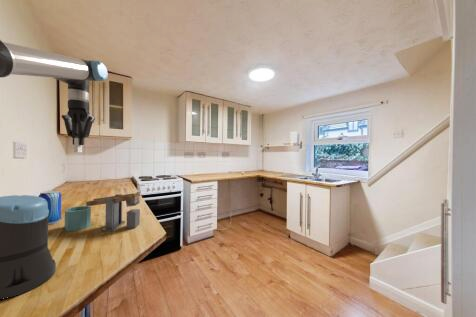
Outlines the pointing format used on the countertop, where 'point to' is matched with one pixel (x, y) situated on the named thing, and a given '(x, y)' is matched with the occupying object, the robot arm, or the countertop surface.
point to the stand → (113, 214)
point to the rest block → (133, 218)
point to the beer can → (53, 205)
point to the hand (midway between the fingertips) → (78, 152)
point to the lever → (118, 199)
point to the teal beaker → (77, 218)
